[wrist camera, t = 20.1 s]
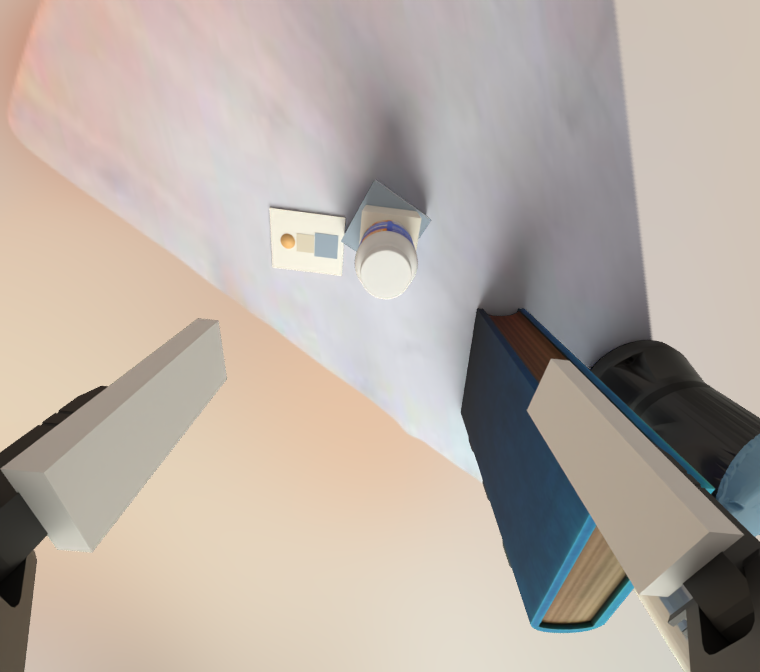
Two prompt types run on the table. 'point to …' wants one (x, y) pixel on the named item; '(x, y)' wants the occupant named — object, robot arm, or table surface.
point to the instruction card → (307, 241)
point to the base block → (382, 198)
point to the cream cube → (404, 217)
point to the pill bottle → (386, 259)
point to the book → (540, 478)
